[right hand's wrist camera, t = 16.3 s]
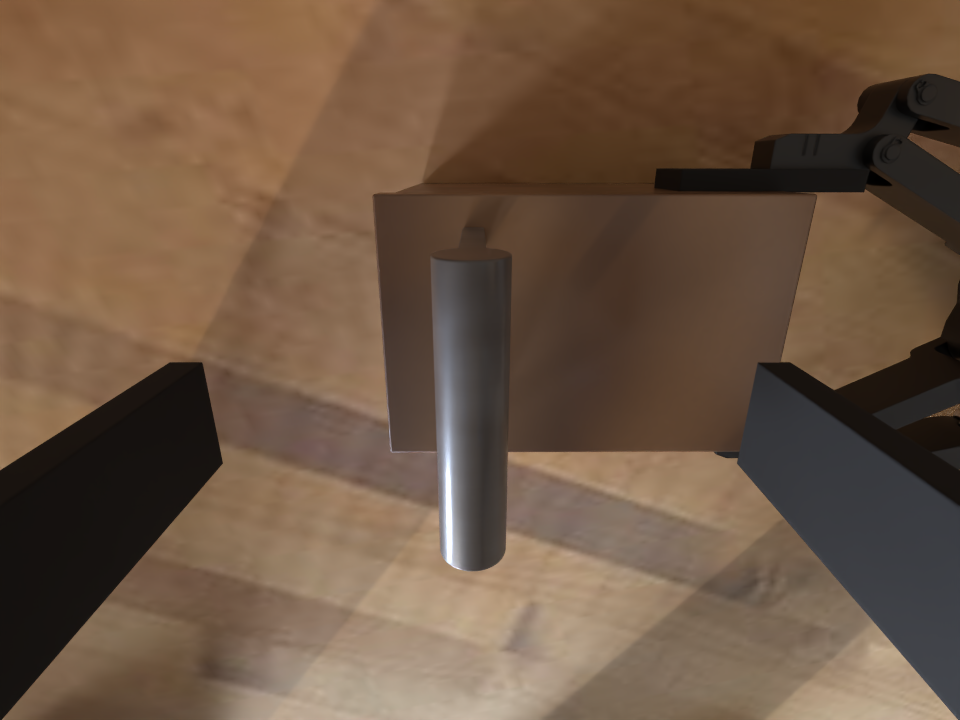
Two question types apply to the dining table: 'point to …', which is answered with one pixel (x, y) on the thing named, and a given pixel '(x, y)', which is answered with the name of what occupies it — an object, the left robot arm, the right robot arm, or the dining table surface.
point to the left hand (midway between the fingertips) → (651, 310)
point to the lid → (574, 330)
